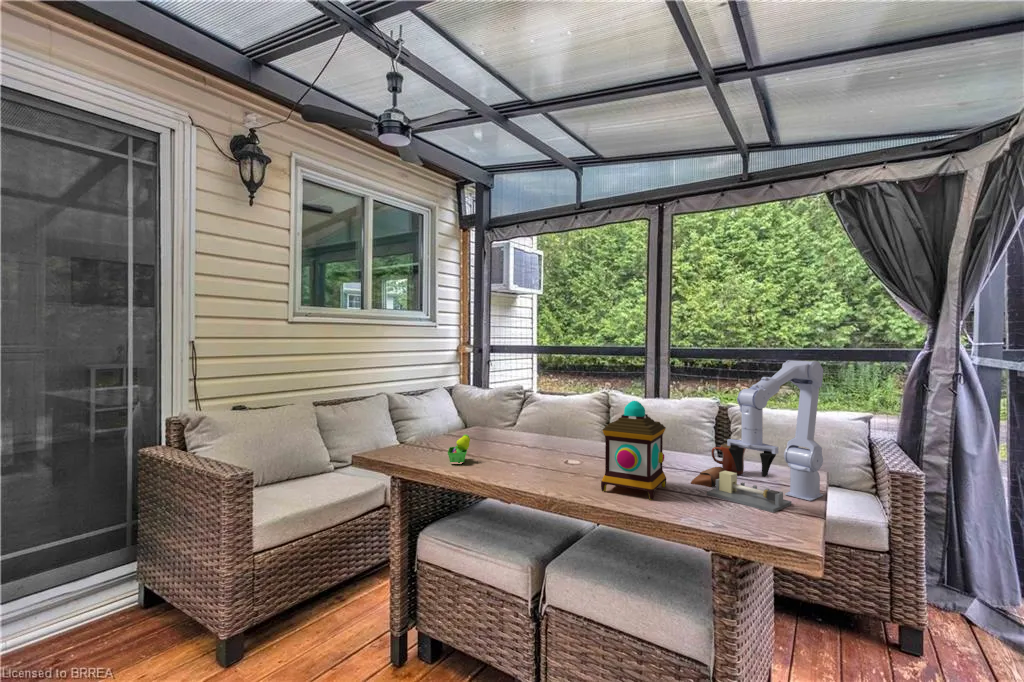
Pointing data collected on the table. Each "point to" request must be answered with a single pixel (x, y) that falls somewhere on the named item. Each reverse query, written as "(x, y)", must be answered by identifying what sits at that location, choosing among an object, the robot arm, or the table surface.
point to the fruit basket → (459, 450)
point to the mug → (728, 459)
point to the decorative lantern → (634, 451)
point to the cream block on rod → (727, 481)
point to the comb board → (752, 497)
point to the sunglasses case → (708, 477)
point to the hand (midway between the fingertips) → (751, 473)
